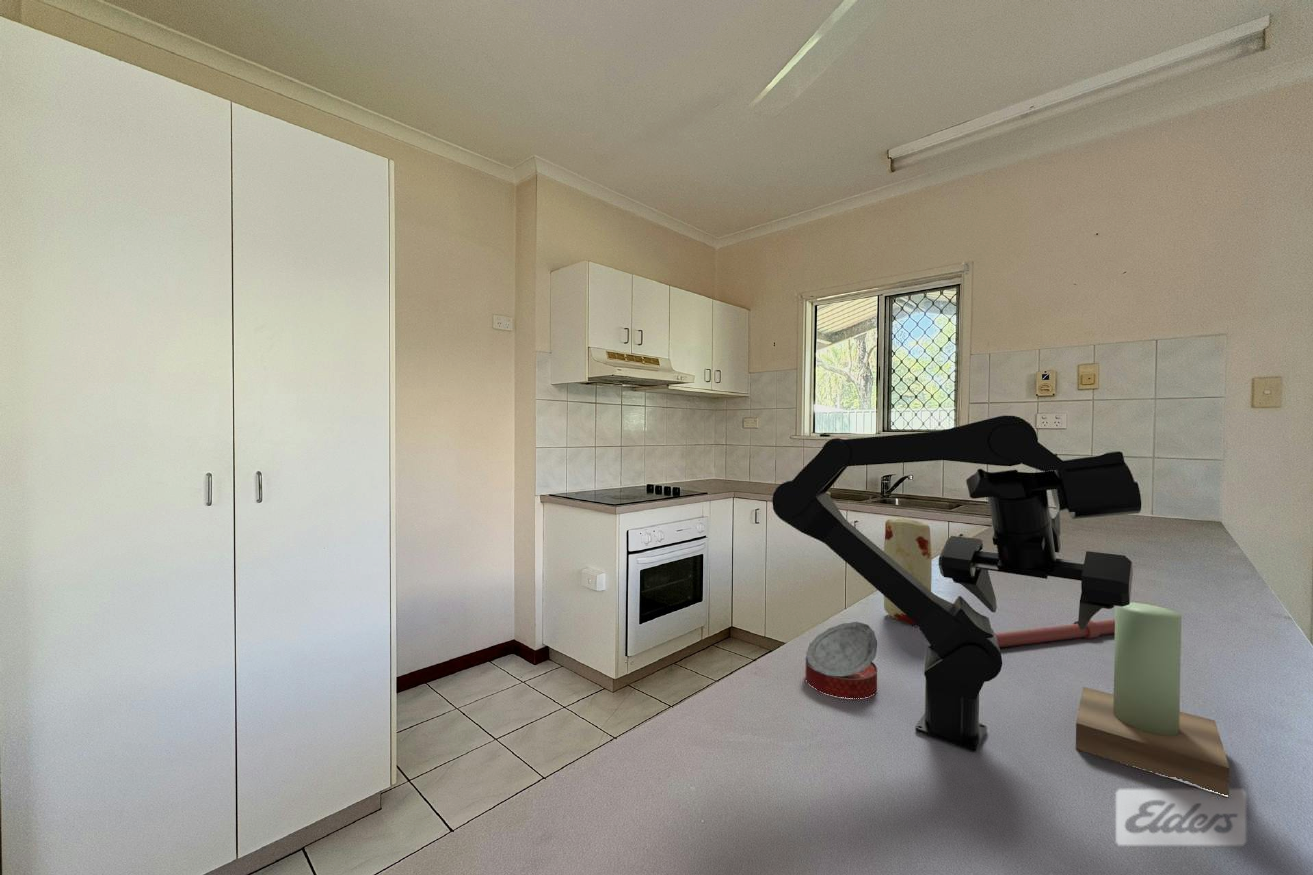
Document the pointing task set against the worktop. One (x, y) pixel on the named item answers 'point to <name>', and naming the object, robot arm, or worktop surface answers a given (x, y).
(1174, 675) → the green cylinder
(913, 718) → the worktop surface
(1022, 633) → the red collared rod
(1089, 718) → the walnut base
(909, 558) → the food model
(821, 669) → the canned food
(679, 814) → the worktop surface
